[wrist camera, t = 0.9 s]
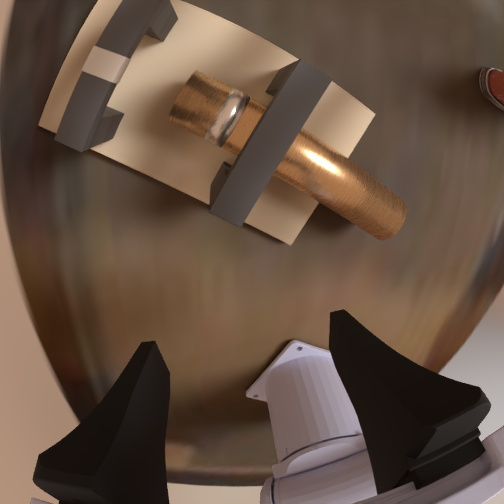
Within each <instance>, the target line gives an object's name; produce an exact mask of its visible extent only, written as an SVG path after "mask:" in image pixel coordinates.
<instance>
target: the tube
mask: <svg viewBox="0 0 504 504" xmlns="http://www.w3.org/2000/svg"><path fill="white" fill-rule="evenodd" d="M266 108H267V106H265V105H264V104H262V103H260V102H258V101H256V100H255V99H253V98H251V97H250V96H248V95H246V94H245V93H243V92H241V91H239V90H237V89H235V88H233V87H231V86H229V85H227V84H225V83H223V82H221V81H219V80H217V79H215V78H213V77H211V76H209V75H207V74H205V73H203V72H200V71H198V70H196V71H194V73H193V74H192V75H191V76H190V78H189V79H188V81H187V82H186V84H185V85H184V87H183V88H182V90H181V92H180V94H179V95H178V97H177V99H176V101H175V103H174V105H173V107H172V109H171V111H170V114H169V117H168V122H170V123H172V124H175V125H177V126H179V127H181V128H183V129H185V130H187V131H189V132H191V133H193V134H195V135H197V136H199V137H201V138H203V139H204V140H206V141H208V142H210V143H212V144H214V145H216V146H218V147H221V148H223V149H225V150H227V151H229V152H231V153H233V154H234V155H236V156H238V155H239V153H240V151H241V150H242V148H243V146H244V144H245V143H246V141H247V139H248V138H249V136H250V134H251V133H252V131H253V129H254V128H255V126H256V124H257V123H258V121H259V119H260V118H261V116H262V115H263V113H264V111H265V110H266ZM273 176H275V177H277V178H278V179H280V180H282V181H284V182H285V183H287V184H289V185H291V186H292V187H294V188H296V189H298V190H299V191H301V192H303V193H304V194H306V195H308V196H309V197H311V198H313V199H315V200H316V201H318V202H320V203H321V204H323V205H324V206H326V207H328V208H329V209H331V210H333V211H334V212H336V213H338V214H339V215H341V216H342V217H344V218H346V219H347V220H349V221H350V222H352V223H353V224H355V225H357V226H358V227H360V228H361V229H363V230H364V231H366V232H367V233H369V234H371V235H372V236H374V237H375V238H377V239H379V240H387V239H389V238H391V237H392V236H394V235H395V234H396V233H397V232H398V231H399V230H400V228H401V227H402V225H403V223H404V221H405V218H406V214H407V208H406V204H405V202H404V201H403V200H402V199H401V198H400V197H398V196H397V195H396V194H395V193H393V192H392V191H391V190H390V189H388V188H387V187H386V186H384V185H383V184H382V183H381V182H379V181H378V180H377V179H375V178H374V177H373V176H371V175H370V174H369V173H367V172H366V171H365V170H363V169H362V168H361V167H359V166H358V165H357V164H355V163H354V162H352V161H351V160H350V159H348V158H347V157H345V156H344V155H342V154H341V153H340V152H338V151H337V150H335V149H334V148H332V147H331V146H329V145H328V144H326V143H325V142H323V141H322V140H320V139H319V138H317V137H316V136H314V135H313V134H311V133H310V132H308V131H307V130H305V129H303V128H302V129H301V130H300V132H299V133H298V135H297V137H296V138H295V140H294V142H293V143H292V145H291V146H290V148H289V150H288V151H287V153H286V154H285V156H284V158H283V159H282V161H281V162H280V164H279V166H278V167H277V169H276V171H275V172H274V174H273Z"/></svg>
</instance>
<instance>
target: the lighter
mask: <svg viewBox="0 0 504 504" xmlns="http://www.w3.org/2000/svg"><path fill="white" fill-rule="evenodd" d="M479 82H480V88H481V91H482V93H483V94H484V96H485V97H486V98H488V99H489V100H490V101H491V102H492V103H493V104H495V105H496V106H497V107H499V108H500V109H502V110H503V111H504V71H501V70H498V69H495V68H483V69H482V70H481V73H480V77H479Z"/></svg>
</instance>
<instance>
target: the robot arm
mask: <svg viewBox="0 0 504 504" xmlns="http://www.w3.org/2000/svg"><path fill="white" fill-rule="evenodd" d="M298 347H300V348H298ZM329 349H330V351H328V350H324V349H321V348H318V347H315V346H312V345H309V344H306V343H303V342H300V341H297V340H293V341H291V342H289V343H288V344H287V346H286V347H285V348H284V349H283V350H282V352H281V353H280V354H279V355H278V356H277V357H276V359H275V360H274V361H273V362H272V363H271V364H270V365H269V367H268V368H267V369H266V370H265V371H264V372H263V373H262V374H261V376H260V377H259V378H258V379H257V380H256V381H255V382H254V383H253V384H252V386H251V387H250V388H249V389H248V390H247V391H246V396H247V397H249V398H253V399H257V400H261V401H266V402H267V404H268V409H269V415H270V420H271V425H272V431H273V436H274V441H275V446H276V452H277V457H278V462H279V463H278V464H275V465H272V469H273V474H274V476H272V477H269V478H267V480H266V481H265V483H264V486H263V487H262V490H261V493H260V504H484V503H485V502H487V501H488V500H489V499H491V498H492V497H494V496H495V495H497V494H498V493H499V492H501V491H502V490H503V489H504V426H503V427H501V428H500V429H498V430H497V431H495V432H494V433H492V434H491V435H489V436H488V437H486V438H485V439H484V440H483V441H482V442H481V441H480V439H479V436H480V434H481V433H480V431H479V429H478V426H479V425H480V423H481V422H482V421H483V419H484V418H485V417H486V415H487V414H488V412H489V411H490V408H491V403H490V402H489V400H488V398H487V397H486V395H485V394H484V392H483V391H482V390H481V388H480V387H477V386H473V385H469V384H466V383H462V382H459V381H455V380H453V379H450V378H447V377H444V376H442V375H439V374H437V373H435V372H432V371H430V370H428V369H426V368H424V367H422V366H420V365H418V364H416V363H414V362H413V361H411V360H409V359H407V358H406V357H404V356H402V355H401V354H399V353H398V352H396V351H395V350H393V349H392V348H391V347H389V346H388V345H386V344H385V343H384V342H382V341H381V340H380V339H379V338H377V337H376V336H375V335H374V334H372V333H371V332H370V331H369V330H368V329H366V328H365V327H364V326H363V325H362V324H361V323H359V322H358V321H357V320H356V319H355V318H354V317H353V316H351V315H350V314H349V313H348V312H347V311H346V310H344V309H343V310H339V311H334V312H330V332H329ZM169 400H170V372H169V370H168V368H167V366H166V364H165V362H164V360H163V357H162V355H161V353H160V351H159V349H158V346H157V344H156V342H155V341H149V342H142V343H141V344H140V345H139V347H138V348H137V350H136V352H135V353H134V355H133V356H132V358H131V359H130V361H129V363H128V364H127V366H126V367H125V369H124V370H123V372H122V373H121V375H120V376H119V378H118V379H117V381H116V382H115V384H114V385H113V386H112V388H111V389H110V390H109V392H108V393H107V395H106V396H105V397H104V398H103V400H102V401H101V402H100V403H99V404H98V406H97V407H96V408H95V409H94V410H93V411H92V412H91V413H90V414H89V416H87V417H86V418H85V419H84V420H83V421H82V422H81V423H80V424H79V425H78V426H77V427H76V428H75V429H74V430H73V431H72V432H70V433H69V434H68V435H67V436H66V437H64V438H63V439H62V440H61V441H59V442H58V443H56V444H55V445H54V446H52V447H50V448H49V449H47V450H46V451H44V452H43V453H41V454H39V456H38V460H37V463H36V468H35V471H34V475H33V482H34V483H35V484H36V485H37V486H38V487H39V488H40V489H42V490H43V491H45V492H46V493H48V494H49V495H51V496H53V497H54V498H56V499H57V500H59V504H169V497H168V489H167V479H166V465H165V436H166V427H167V417H168V409H169ZM30 504H52V503H49V502H46V501H42V500H39V499H36V498H31V503H30Z"/></svg>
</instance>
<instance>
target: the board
mask: <svg viewBox="0 0 504 504" xmlns="http://www.w3.org/2000/svg"><path fill="white" fill-rule="evenodd" d="M196 70H198V71H200V72H203V73H205V74H207V75H209V76H211V77H213V78H215V79H217V80H219V81H221V82H223V83H225V84H227V85H229V86H231V87H233V88H235V89H237V90H239V91H241V92H243V93H245V94H246V95H248V96H250V97H251V98H253V99H255V100H256V101H258V102H260V103H262V104H264V105H265V106H267V108H266V110H265V111H264V113H263V115H262V116H261V118H260V119H259V121H258V123H257V124H256V126H255V128H254V129H253V131H252V133H251V134H250V136H249V138H248V139H247V141H246V143H245V144H244V146H243V148H242V150H241V151H240V153H239V155H238V156H236V155H234V154H233V153H231V152H229V151H227V150H225V149H223V148H221V147H218V146H216V145H214V144H212V143H210V142H208V141H206V140H204V139H203V138H201V137H199V136H197V135H195V134H193V133H191V132H189V131H187V130H185V129H183V128H181V127H179V126H177V125H175V124H172V123H170V122H168V117H169V114H170V111H171V109H172V107H173V105H174V103H175V101H176V99H177V97H178V95H179V94H180V92H181V90H182V88H183V87H184V85H185V84H186V82H187V81H188V79H189V78H190V76H191V75H192V74H193V73H194V71H196ZM332 80H333V79H332V78H331V77H329V76H328V75H326V74H325V73H324V72H322V71H321V70H319V69H318V68H316V67H315V66H313V65H312V64H310V63H308V62H307V61H305V60H304V59H302V58H301V59H297V58H296V57H294V56H292V55H291V54H289V53H287V52H286V51H284V50H282V49H281V48H279V47H277V46H275V45H274V44H272V43H270V42H268V41H266V40H265V39H263V38H261V37H259V36H257V35H255V34H253V33H252V32H250V31H248V30H246V29H244V28H242V27H240V26H238V25H236V24H234V23H232V22H230V21H227V20H225V19H223V18H221V17H219V16H217V15H214V14H212V13H210V12H208V11H205V10H203V9H201V8H198V7H196V6H193V5H191V4H188V3H186V2H183V1H180V0H98V2H97V3H96V5H95V6H94V8H93V10H92V11H91V13H90V14H89V16H88V18H87V19H86V21H85V23H84V25H83V26H82V28H81V30H80V32H79V34H78V35H77V37H76V39H75V41H74V43H73V45H72V47H71V49H70V51H69V53H68V55H67V57H66V59H65V61H64V63H63V65H62V67H61V69H60V72H59V74H58V76H57V78H56V81H55V83H54V85H53V88H52V90H51V93H50V95H49V98H48V100H47V103H46V105H45V108H44V111H43V114H42V116H41V119H40V122H39V125H38V126H40V127H43V128H45V129H47V130H50V131H52V132H54V133H56V136H55V139H54V140H55V141H58V142H60V143H62V144H64V145H66V146H69V147H71V148H73V149H75V150H77V151H80V152H84V151H86V150H88V149H92V150H94V151H96V152H99V153H101V154H103V155H105V156H107V157H109V158H112V159H114V160H116V161H118V162H120V163H122V164H125V165H127V166H129V167H131V168H133V169H135V170H137V171H140V172H142V173H144V174H146V175H148V176H150V177H152V178H154V179H157V180H159V181H161V182H163V183H165V184H167V185H169V186H171V187H173V188H176V189H178V190H180V191H182V192H184V193H186V194H188V195H190V196H192V197H194V198H196V199H198V200H200V201H203V202H205V203H207V204H209V213H212V214H214V215H216V216H218V217H220V218H222V219H224V220H226V221H228V222H230V223H232V224H234V225H236V226H238V227H240V228H241V227H242V225H243V223H244V222H245V223H247V224H249V225H251V226H253V227H255V228H257V229H259V230H261V231H263V232H265V233H267V234H269V235H271V236H273V237H275V238H277V239H279V240H281V241H283V242H285V243H287V244H289V245H291V244H292V243H293V241H294V240H295V238H296V237H297V235H298V234H299V232H300V231H301V229H302V228H303V226H304V225H305V223H306V222H307V220H308V219H309V217H310V216H311V214H312V213H313V211H314V210H315V208H316V207H317V205H318V203H319V202H318V201H316V200H315V199H313V198H311V197H309V196H308V195H306V194H304V193H303V192H301V191H299V190H298V189H296V188H294V187H292V186H291V185H289V184H287V183H285V182H284V181H282V180H280V179H278V178H277V177H275V176H273V174H274V172H275V171H276V169H277V167H278V166H279V164H280V162H281V161H282V159H283V158H284V156H285V154H286V153H287V151H288V150H289V148H290V146H291V145H292V143H293V142H294V140H295V138H296V137H297V135H298V133H299V132H300V130H301V129H302V128H303V129H305V130H307V131H308V132H310V133H311V134H313V135H314V136H316V137H317V138H319V139H320V140H322V141H323V142H325V143H326V144H328V145H329V146H331V147H332V148H334V149H335V150H337V151H338V152H340V153H341V154H342V155H344V156H345V157H347V158H348V157H349V155H350V154H351V152H352V151H353V149H354V148H355V146H356V144H357V143H358V141H359V140H360V138H361V137H362V135H363V133H364V132H365V130H366V129H367V127H368V125H369V124H370V122H371V121H372V119H373V117H374V116H375V114H374V113H373V112H372V111H371V110H369V109H368V108H367V107H366V106H364V105H363V104H362V103H361V102H359V101H358V100H357V99H355V98H354V97H353V96H351V95H350V94H349V93H347V92H346V91H345V90H343V89H342V88H340V87H339V86H338V85H336V84H335V83H333V82H332Z"/></svg>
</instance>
